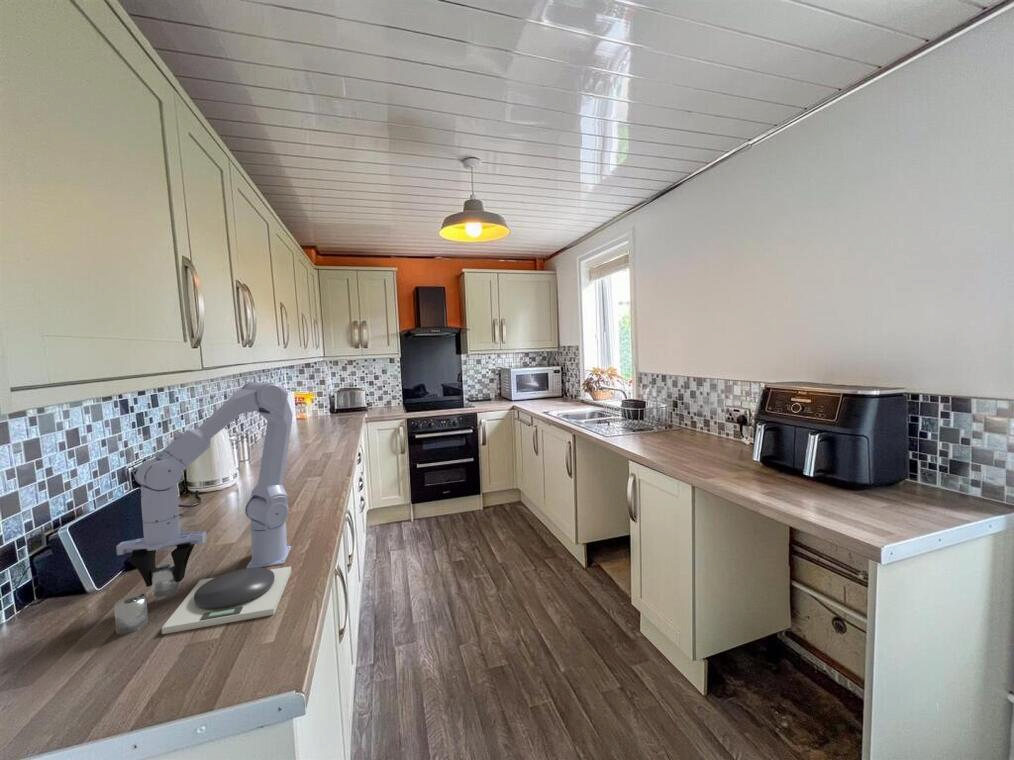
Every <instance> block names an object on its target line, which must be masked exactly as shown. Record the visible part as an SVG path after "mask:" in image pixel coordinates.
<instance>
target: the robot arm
mask: <svg viewBox="0 0 1014 760" xmlns="http://www.w3.org/2000/svg"><path fill="white" fill-rule="evenodd" d="M288 396H289V393H288V392H287V391H286V390H285V389H284V388H283V387H282V386H281V385H280V384H278V383H276V382H258V381H250V382H246V383H245V384H244V385H242V387H241V388H240V389H237V390H236V391H234V393H233V394H232V395H231V396H230V397H229V398H228V399H227V400H226V401H225V402H224V403H222V405H221V406H220V407H219V408H217V410H215V411H214V412H213V413H212V414H211V415H210V416H209V417H208V418H207V419H206V420H205V421H204V422H202V424H201V425H200V426H198V427H197V428H196V429H187V430H186V429H185V431H183V432H181V431H179V432H177V434H175V435H174V438H175V439H174V440H173V441H171V442H170V443H169V444H168V445H167V446H165V447H164V448H163V449H161V451H159V450H158V451H156V452H155V453H153V457H154V458H151V459H147V460H145V461H143V462H142V463H140V465H139V466H138V468H137V471H136V472H135V474H134V475H133V476H134V477H133V478H134V480H135V481H136V482H137V484H139V485H140V496H141V497H140V503H141V504H140V505H141V506H140V507H141V516H142V517H141V518H142V530H143V537H142V538H136V539H130V540H126V541H125V540H124V541H121V542H120V543H118V544H117V545H116V546H115V547H116V555H117V556H120V555H121V556H122V555H125V554H126V553H131V556H129V558H128V561H129V563H131V564H132V565H133V566H134V567H135V568H136V569H137V570H138V572H139V573H140V575H141V577H142V579H143V581H144V583H145V586H146V588H149V587H152V581H151V569H152V568H154V567H155V566H156V553H157V550H160V549H166V548H174V547H175V548H174V549H173V550H172V551H171V552H170V555H171V556H170V557H171V558H172V562H174V566H175V579H176V582H180V583H181V582H182V581H183V579H184V578H185V576H186V569H187V565H188V562H189V558H190V556H191V554H192V552H193V549H194V547H195V545H199V546H200V545H204V543H205V542H206V541H207V531H181V522H180V521H181V520H180V506H179V494H178V485H177V484H178V483H179V482H180V481H181V479H182V477H183V476H182V475H183V471H185V470H186V469H187V468H189V466H191V465H192V464H193V463H194V462H195V461H196V460H197V459H198V458H199V457H201V456H202V455H203V454H204V453H205V452H206V451H207V450H208V449H209V448H210V446H211V439H212V438H213V437H215V436H216V435H218V433H220V432H221V431H223V429H224V428H226V427H227V426H228V425H229V424H231V423H232V422H233V421H234V420H236V419H237V418H238V417H240V415H242V414H247V413H253V412H257V413H259V414H260V416H262V417H263V418H264V419H265V420H266V421H267V422H266V427H265V428H266V429H265V435H264V442H263V449H262V453H261V454H262V455H261V461H260V462H261V463H260V466H259V467H260V468H259V474H258V481H257V485H256V486H255V487H253V489H252V490H251V495H250V497H249V499H248V501H247V502H246V504H245V507H244V514H245V516H246V517H247V518H248V519H249V520H250V544H251V559H250V561H249V562H248V564H247V565H246V567H245V569H246V568H266V567H270V566H278V565H284V564H285V562H286V560H287V558H288V555H289V554H290V551H291V549H292V545H288V540H287V537H288V535H287V523H286V522H285V521H286V520H287V518H288V516H289V513H290V507H289V505H288V493H287V492H286V489H285V488H284V485H283V483H284V479H285V478H284V477H285V473H286V472H285V471H286V465H287V464H286V463H287V457H288V452H289V451H288V450H289V443H290V437H291V431H292V430H291V429H292V423H293V416H294V415H293V412H292V409H291V406H290V403H289V401H288Z"/></svg>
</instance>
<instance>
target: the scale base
mask: <svg viewBox="0 0 1014 760" xmlns="http://www.w3.org/2000/svg"><path fill="white" fill-rule="evenodd" d="M269 570H271V571H272V572H273V573H274V578H275V579H274V583H273V585H272V586H271V587H270V588H269V589H268V590H267V591H265V592H264V593H263V594H261V595H259V596H258V597H256V598H254V599H252V600H249V601H247V602H244V603H241V604H238V605H235V606H231V607H226V608H219V609H205V608H201V607H198V606H197V605H196V604H195V602H194V594H195V592H196V591H197V590H198V589H199V588H200V587H201V586H202V585H203V584H205V583H206V582H208V581H210V580H212V579H214V578H215V577H211V578H210V577H209V578H202V579H200V580H199V581H198V582H197V584H196V585H194V587H193V588H192V589H191V591H190V592H189V593H188V595H187V596H186V597H184V599H183V601H182V602H181V603H180V605H179V606H178V607H177V608H176V609H175V611H174V612H173V613H172V614H171V616H170V617H169V618H168V619H167V621H166V622H164V624H163V626H162V627H161V634H162V635H165V634H172V633H177V632H184V631H188V630H189V631H190V630H194V629H199V628H205V627H206V628H207V627H210V626H211V627H212V626H217V625H223V624H228V623H234V622H240V621H246V620H251V619H257V618H263V617H268V616H274V615H275V613H276V610H277V608H278V606H279V603H280V600H281V598H282V596H283V594H284V591H285V589H286V585H287V584H288V580H289V578H290V576H291V573H292V566H285V567H278V568H271V569H269Z"/></svg>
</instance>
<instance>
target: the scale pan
mask: <svg viewBox="0 0 1014 760" xmlns="http://www.w3.org/2000/svg"><path fill="white" fill-rule="evenodd" d="M213 578H214V579H212V580H210V581H208V582H206V583H205V584H203V585H202V586H201V587H200V588H199V589H198V590H197V591H196V592H195V594H194V602H195V604H196V605H197V606H198V607H201V608H205V609H219V608H226V607H231V606H235V605H238V604H241V603H244V602H247V601H249V600H252V599H254V598H256V597H258V596H259V595H261V594H263V593H264V592H265V591H267V590H268V589H269V588H270V587H271V586H272V585H273V583H274V579H275V578H274V573H273V572H272V571H271V570H270V569H269V568H266V567H259V568H246V567H245V568H241V569H237V570H233V571H229V572H226V573H223V574H221V575H218V576H217V577H213Z"/></svg>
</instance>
